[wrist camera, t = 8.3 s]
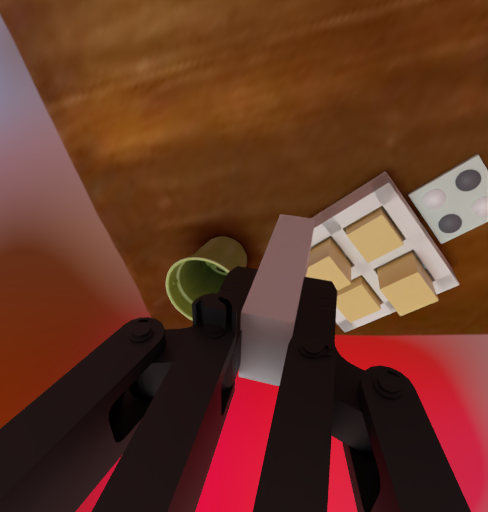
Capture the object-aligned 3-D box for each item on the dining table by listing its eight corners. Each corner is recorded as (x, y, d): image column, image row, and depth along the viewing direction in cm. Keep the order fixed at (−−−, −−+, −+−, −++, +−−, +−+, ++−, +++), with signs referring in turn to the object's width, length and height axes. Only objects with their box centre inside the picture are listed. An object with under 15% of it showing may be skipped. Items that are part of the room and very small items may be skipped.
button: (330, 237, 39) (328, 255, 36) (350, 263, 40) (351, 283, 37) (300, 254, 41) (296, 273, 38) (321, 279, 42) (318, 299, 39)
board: (385, 170, 37) (389, 182, 34) (451, 266, 41) (459, 284, 38) (280, 237, 44) (276, 251, 41) (344, 314, 48) (344, 332, 45)
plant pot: (186, 269, 50) (159, 307, 43) (200, 213, 45) (172, 245, 38) (247, 294, 50) (230, 336, 43) (269, 240, 45) (254, 278, 38)
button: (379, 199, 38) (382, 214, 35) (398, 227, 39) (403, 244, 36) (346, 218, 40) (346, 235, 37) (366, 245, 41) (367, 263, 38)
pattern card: (477, 153, 34) (479, 155, 34) (509, 208, 36) (511, 210, 36) (407, 193, 38) (408, 195, 37) (440, 242, 40) (441, 244, 39)
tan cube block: (360, 265, 42) (361, 284, 39) (378, 288, 43) (381, 309, 40) (331, 280, 44) (330, 299, 41) (349, 302, 45) (349, 322, 42)
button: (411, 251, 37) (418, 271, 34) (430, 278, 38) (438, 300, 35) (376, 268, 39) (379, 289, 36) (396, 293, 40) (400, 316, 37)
